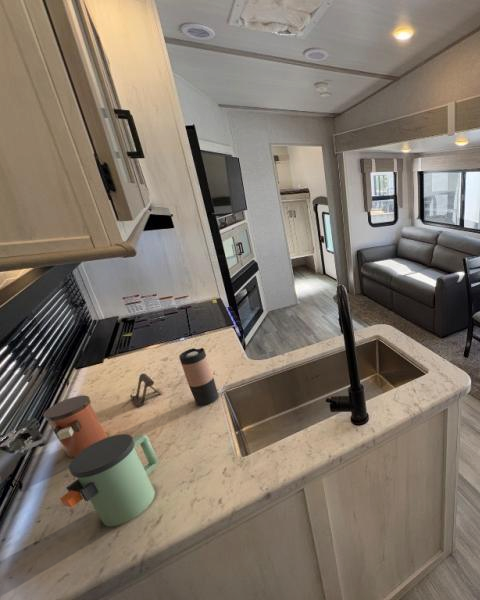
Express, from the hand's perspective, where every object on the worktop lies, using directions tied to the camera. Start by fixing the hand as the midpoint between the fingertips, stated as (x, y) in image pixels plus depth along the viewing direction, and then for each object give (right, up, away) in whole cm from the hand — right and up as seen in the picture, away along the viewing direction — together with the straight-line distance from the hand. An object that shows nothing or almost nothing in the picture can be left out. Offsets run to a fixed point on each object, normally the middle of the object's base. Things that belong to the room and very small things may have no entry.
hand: (33, 422), depth 71 cm
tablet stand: (-11, -9, +45) cm, 48 cm away
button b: (-9, -10, +15) cm, 20 cm away
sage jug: (+19, -22, +5) cm, 30 cm away
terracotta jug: (-12, -17, +25) cm, 32 cm away
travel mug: (+14, -9, +42) cm, 45 cm away
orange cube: (+16, -14, -7) cm, 23 cm away
